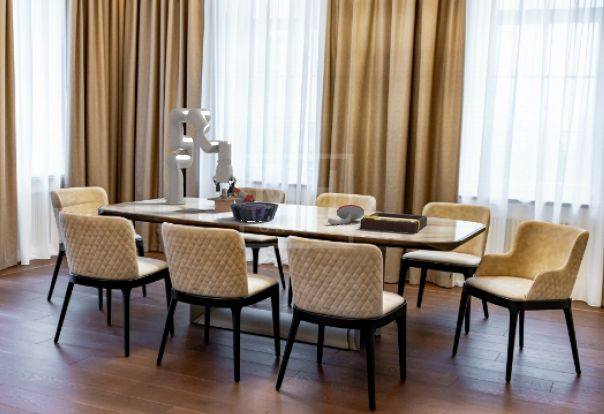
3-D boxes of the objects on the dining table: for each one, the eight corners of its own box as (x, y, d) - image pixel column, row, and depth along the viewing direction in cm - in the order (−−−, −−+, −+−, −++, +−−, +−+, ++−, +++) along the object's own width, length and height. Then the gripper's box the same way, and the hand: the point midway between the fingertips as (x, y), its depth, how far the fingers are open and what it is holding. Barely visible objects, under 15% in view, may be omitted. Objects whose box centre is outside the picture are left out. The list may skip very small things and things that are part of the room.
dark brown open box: (417, 221, 321) (358, 216, 332) (416, 234, 322) (357, 229, 333) (428, 214, 347) (373, 210, 358) (427, 226, 348) (372, 222, 359)
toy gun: (245, 220, 400) (256, 198, 397) (215, 203, 402) (225, 181, 399) (248, 218, 405) (258, 197, 402) (217, 202, 407) (227, 181, 404)
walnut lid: (207, 199, 379) (207, 188, 378) (222, 197, 391) (222, 186, 390) (226, 202, 371) (226, 190, 371) (241, 199, 383) (241, 188, 382)
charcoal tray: (172, 212, 377) (172, 211, 377) (191, 209, 390) (191, 208, 390) (193, 214, 368) (193, 213, 368) (212, 211, 382) (212, 210, 382)
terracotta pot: (210, 211, 380) (210, 199, 379) (223, 209, 389) (223, 198, 389) (225, 213, 374) (225, 201, 373) (237, 211, 384) (237, 199, 383)
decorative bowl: (220, 222, 356) (219, 204, 354) (258, 214, 375) (257, 196, 373) (251, 228, 338) (250, 209, 336) (289, 219, 357) (289, 201, 356)
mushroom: (315, 222, 351) (316, 203, 350) (353, 219, 365) (353, 201, 364) (330, 226, 340) (330, 206, 339) (368, 223, 354) (369, 204, 353)
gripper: (208, 162, 380) (208, 191, 382) (232, 163, 370) (232, 194, 373) (217, 161, 386) (217, 190, 388) (240, 163, 377) (240, 193, 379)
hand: (224, 192), depth 380 cm, fingers open, 9 cm apart
